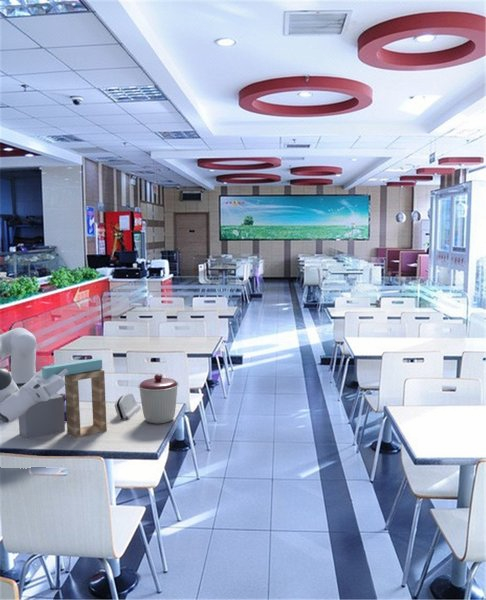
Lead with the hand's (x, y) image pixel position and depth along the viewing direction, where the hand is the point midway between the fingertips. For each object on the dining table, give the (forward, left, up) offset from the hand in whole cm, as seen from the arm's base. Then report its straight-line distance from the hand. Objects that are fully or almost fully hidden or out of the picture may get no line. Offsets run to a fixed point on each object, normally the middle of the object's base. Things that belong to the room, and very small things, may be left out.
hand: (64, 368), depth 225 cm
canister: (+23, +33, -29) cm, 50 cm away
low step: (-13, 0, -29) cm, 32 cm away
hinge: (+5, +34, -29) cm, 45 cm away
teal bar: (+2, +3, -2) cm, 4 cm away
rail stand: (+4, +8, -29) cm, 30 cm away
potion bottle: (-17, +15, -29) cm, 37 cm away
